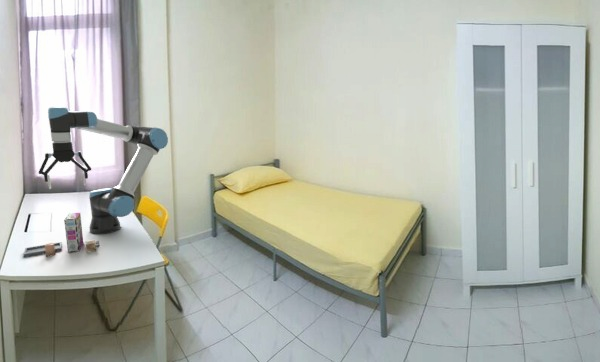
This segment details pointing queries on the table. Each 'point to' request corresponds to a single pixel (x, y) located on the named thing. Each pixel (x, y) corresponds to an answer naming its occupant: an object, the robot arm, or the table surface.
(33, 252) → the slate tray
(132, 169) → the robot arm
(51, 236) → the table surface
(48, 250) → the brown small cube
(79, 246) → the candy bar box
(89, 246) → the oak cube
